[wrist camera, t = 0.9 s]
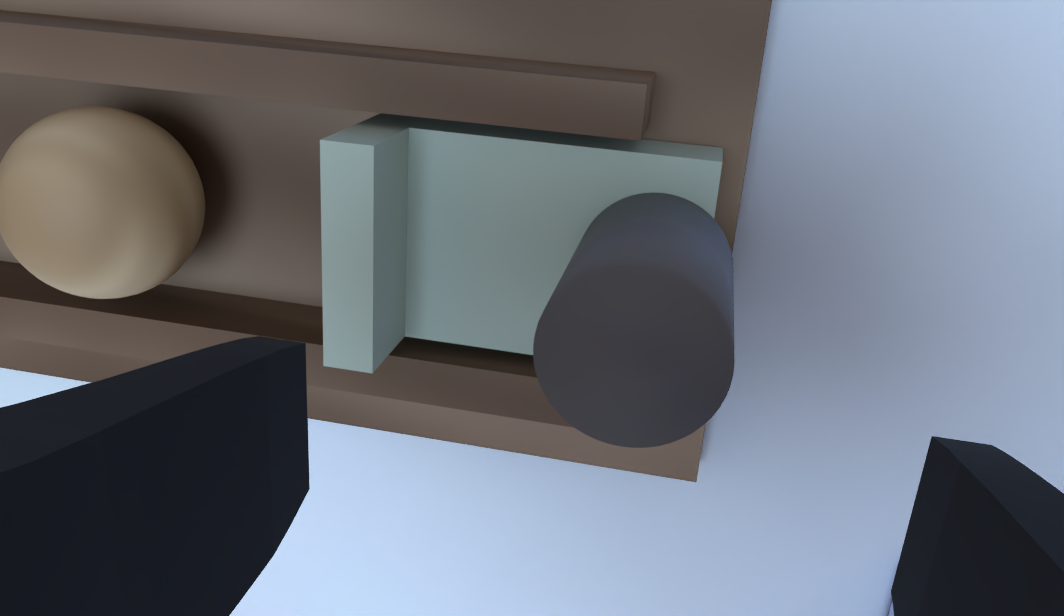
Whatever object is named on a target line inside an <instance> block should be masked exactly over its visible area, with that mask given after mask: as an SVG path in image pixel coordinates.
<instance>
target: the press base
mask: <svg viewBox="0 0 1064 616" xmlns="http://www.w3.org/2000/svg"><path fill="white" fill-rule="evenodd" d="M771 3H772V0H0V163H1V161H2V159H3V157H4V155H5V154H6V152H7V150H8V149H9V148H10V146H11V145H12V143H13V142H14V141H15V140H16V139H17V138H18V137H19V136H20V135H21V134H22V133H23V132H24V131H25V130H26V129H27V128H29V127H30V126H32V125H33V124H34V123H36V122H38V121H39V120H41V119H43V118H45V117H47V116H49V115H51V114H54V113H57V112H60V111H63V110H66V109H70V108H77V107H86V106H104V107H113V108H118V109H123V110H126V111H129V112H132V113H135V114H138V115H140V116H143V117H145V118H147V119H149V120H151V121H152V122H154V123H155V124H157V125H159V126H160V127H162V128H163V129H165V130H166V131H167V132H168V133H170V134H171V135H172V136H173V137H174V138H175V139H176V140H177V141H178V142H179V143H180V144H181V145H182V147H183V148H184V149H185V150H186V152H187V153H188V155H189V156H190V158H191V159H192V161H193V163H194V165H195V167H196V169H197V171H198V174H199V176H200V179H201V182H202V186H203V190H204V197H205V217H204V224H203V228H202V232H201V236H200V238H199V240H198V243H197V245H196V247H195V249H194V251H193V252H192V254H191V255H190V257H189V258H188V260H187V261H186V262H185V263H184V264H183V265H182V266H181V268H180V269H179V270H178V271H177V272H176V273H175V274H173V275H172V276H171V277H170V278H168V279H167V280H166V281H164V282H163V283H161V284H159V285H157V286H156V287H154V288H152V289H149V290H147V291H144V292H142V293H139V294H136V295H132V296H127V297H122V298H113V299H95V298H86V297H81V296H76V295H72V294H69V293H66V292H63V291H61V290H58V289H56V288H54V287H52V286H50V285H48V284H46V283H44V282H43V281H41V280H40V279H38V278H37V277H35V276H34V275H33V274H32V273H30V272H29V271H28V270H27V269H26V268H25V267H24V266H23V265H22V264H21V263H20V262H19V261H18V260H17V259H16V258H15V257H14V255H13V254H12V253H11V251H10V250H9V248H8V247H7V245H6V243H5V241H4V240H3V238H2V235H1V233H0V367H1V368H7V369H13V370H19V371H25V372H31V373H37V374H43V375H49V376H56V377H62V378H68V379H74V380H80V381H86V382H96V381H100V380H103V379H106V378H110V377H113V376H116V375H119V374H122V373H126V372H129V371H132V370H135V369H138V368H142V367H145V366H148V365H151V364H154V363H158V362H161V361H164V360H167V359H170V358H174V357H177V356H180V355H183V354H187V353H190V352H193V351H197V350H200V349H203V348H207V347H210V346H214V345H218V344H221V343H225V342H229V341H233V340H238V339H242V338H249V337H255V336H262V337H269V338H275V339H282V340H289V341H295V342H302V343H306V380H307V418H310V419H316V420H322V421H328V422H334V423H340V424H347V425H353V426H359V427H365V428H371V429H377V430H383V431H389V432H395V433H401V434H407V435H413V436H419V437H425V438H431V439H437V440H444V441H450V442H456V443H462V444H468V445H474V446H480V447H486V448H492V449H498V450H504V451H510V452H516V453H522V454H528V455H534V456H540V457H547V458H553V459H559V460H565V461H571V462H577V463H583V464H589V465H595V466H601V467H607V468H613V469H619V470H625V471H631V472H637V473H644V474H650V475H656V476H662V477H668V478H674V479H680V480H686V481H692V482H696V480H697V474H698V468H699V461H700V455H701V449H702V442H703V436H704V429H705V424H704V425H703V426H702V427H700V428H699V429H698V430H696V431H695V432H693V433H692V434H690V435H688V436H686V437H684V438H682V439H680V440H677V441H675V442H672V443H669V444H665V445H661V446H656V447H648V448H630V447H620V446H616V445H611V444H607V443H604V442H602V441H599V440H596V439H594V438H592V437H590V436H588V435H585V434H584V433H582V432H581V431H579V430H577V429H576V428H574V427H573V426H572V425H571V424H569V423H568V422H567V421H566V420H564V419H563V418H562V417H561V416H560V414H559V413H558V412H557V411H556V410H555V409H554V408H553V406H552V405H551V404H550V402H549V401H548V399H547V398H546V396H545V394H544V392H543V391H542V388H541V386H540V384H539V381H538V378H537V375H536V371H535V367H534V359H533V355H528V354H521V353H514V352H508V351H501V350H494V349H487V348H481V347H474V346H467V345H460V344H453V343H447V342H440V341H433V340H426V339H419V338H413V337H406V336H405V337H404V338H403V339H402V340H401V341H400V342H399V344H398V345H397V346H396V347H395V348H394V349H393V350H392V352H391V353H390V354H389V355H388V356H387V357H386V359H385V360H384V361H383V362H382V363H381V364H380V365H379V367H378V368H377V369H376V370H375V371H374V372H373V374H372V373H366V372H360V371H353V370H347V369H340V368H334V367H327V366H323V304H322V242H321V179H320V140H321V139H323V138H325V137H328V136H330V135H332V134H334V133H337V132H339V131H341V130H344V129H346V128H348V127H351V126H353V125H355V124H357V123H360V122H362V121H364V120H367V119H369V118H371V117H373V116H376V115H378V114H380V113H385V114H394V115H403V116H413V117H422V118H431V119H441V120H450V121H460V122H469V123H478V124H488V125H497V126H506V127H516V128H525V129H534V130H544V131H553V132H562V133H572V134H581V135H590V136H600V137H609V138H619V139H628V140H637V141H641V139H646V140H655V141H665V142H674V143H683V144H693V145H702V146H712V147H721V148H723V162H722V169H721V176H720V183H719V189H718V196H717V203H716V210H715V216H714V220H715V221H716V222H717V223H718V225H719V226H720V227H721V229H722V230H723V232H724V234H725V236H726V238H727V240H728V243H729V246H730V249H731V253H732V251H733V245H734V238H735V232H736V226H737V219H738V213H739V207H740V200H741V194H742V187H743V181H744V175H745V168H746V162H747V156H748V149H749V143H750V136H751V130H752V124H753V117H754V111H755V105H756V98H757V92H758V85H759V79H760V73H761V66H762V60H763V54H764V47H765V41H766V35H767V28H768V22H769V15H770V9H771Z"/></svg>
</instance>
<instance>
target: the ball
mask: <svg viewBox="0 0 1064 616" xmlns="http://www.w3.org/2000/svg"><path fill="white" fill-rule="evenodd" d="M204 217H205V197H204V190H203V186H202V182H201V179H200V176H199V174H198V171H197V169H196V167H195V165H194V163H193V161H192V159H191V158H190V156H189V155H188V153H187V152H186V150H185V149H184V148H183V147H182V145H181V144H180V143H179V142H178V141H177V140H176V139H175V138H174V137H173V136H172V135H171V134H170V133H168V132H167V131H166V130H165V129H163V128H162V127H160V126H159V125H157V124H155V123H154V122H152V121H151V120H149V119H147V118H145V117H143V116H140V115H138V114H135V113H132V112H129V111H126V110H123V109H118V108H113V107H104V106H86V107H77V108H70V109H66V110H63V111H60V112H57V113H54V114H51V115H49V116H47V117H45V118H43V119H41V120H39V121H38V122H36V123H34V124H33V125H32V126H30V127H29V128H27V129H26V130H25V131H24V132H23V133H22V134H21V135H20V136H19V137H18V138H17V139H16V140H15V141H14V142H13V143H12V145H11V146H10V148H9V149H8V150H7V152H6V154H5V155H4V157H3V159H2V161H1V163H0V233H1V235H2V238H3V240H4V241H5V243H6V245H7V247H8V248H9V250H10V251H11V253H12V254H13V255H14V257H15V258H16V259H17V260H18V261H19V262H20V263H21V264H22V265H23V266H24V267H25V268H26V269H27V270H28V271H29V272H30V273H32V274H33V275H34V276H35V277H37V278H38V279H40V280H41V281H43V282H44V283H46V284H48V285H50V286H52V287H54V288H56V289H58V290H61V291H63V292H66V293H69V294H72V295H76V296H81V297H86V298H95V299H113V298H122V297H127V296H132V295H136V294H139V293H142V292H144V291H147V290H149V289H152V288H154V287H156V286H157V285H159V284H161V283H163V282H164V281H166V280H167V279H168V278H170V277H171V276H172V275H173V274H175V273H176V272H177V271H178V270H179V269H180V268H181V266H182V265H183V264H184V263H185V262H186V261H187V260H188V258H189V257H190V255H191V254H192V252H193V251H194V249H195V247H196V245H197V243H198V240H199V238H200V236H201V232H202V228H203V224H204Z"/></svg>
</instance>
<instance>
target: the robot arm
mask: <svg viewBox="0 0 1064 616" xmlns="http://www.w3.org/2000/svg"><path fill="white" fill-rule="evenodd" d="M308 490H309V458H308V419H307V380H306V343H302V342H295V341H289V340H282V339H275V338H269V337H262V336H255V337H249V338H242V339H238V340H233V341H229V342H225V343H221V344H218V345H214V346H210V347H207V348H203V349H200V350H197V351H193V352H190V353H187V354H183V355H180V356H177V357H174V358H170V359H167V360H164V361H161V362H158V363H154V364H151V365H148V366H145V367H142V368H138V369H135V370H132V371H129V372H126V373H122V374H119V375H116V376H113V377H110V378H106V379H103V380H100V381H96V382H92V383H89V384H85V385H82V386H78V387H75V388H71V389H68V390H64V391H60V392H57V393H53V394H50V395H46V396H43V397H39V398H36V399H32V400H28V401H25V402H21V403H18V404H14V405H10V406H6V407H2V408H0V616H229V615H230V614H231V612H232V611H233V610H234V609H235V607H236V606H237V605H238V603H239V602H240V600H241V599H242V598H243V596H244V595H245V594H246V592H247V591H248V590H249V588H250V587H251V586H252V584H253V583H254V581H255V580H256V579H257V577H258V576H259V575H260V573H261V572H262V571H263V569H264V568H265V566H266V565H267V564H268V562H269V561H270V559H271V558H272V557H273V555H274V554H275V552H276V550H277V548H278V547H279V545H280V543H281V541H282V539H283V538H284V536H285V534H286V532H287V531H288V529H289V527H290V525H291V523H292V521H293V520H294V518H295V516H296V514H297V512H298V510H299V508H300V506H301V504H302V502H303V500H304V498H305V496H306V494H307V492H308ZM891 593H892V604H891V607H890V611H889V615H888V616H1064V494H1063V493H1062V492H1061V491H1059V490H1058V489H1057V488H1055V487H1054V486H1052V485H1051V484H1050V483H1048V482H1047V481H1046V480H1044V479H1043V478H1042V477H1040V476H1039V475H1037V474H1036V473H1035V472H1033V471H1032V470H1030V469H1029V468H1028V467H1026V466H1025V465H1023V464H1022V463H1020V462H1019V461H1017V460H1016V459H1014V458H1013V457H1011V456H1010V455H1008V454H1007V453H1005V452H1003V451H1001V450H1000V449H998V448H996V447H994V446H992V445H987V444H980V443H974V442H967V441H960V440H954V439H947V438H940V437H933V436H932V438H931V441H930V445H929V449H928V453H927V457H926V460H925V464H924V468H923V472H922V476H921V479H920V483H919V487H918V491H917V495H916V499H915V502H914V506H913V510H912V514H911V518H910V521H909V525H908V529H907V533H906V537H905V540H904V544H903V548H902V552H901V556H900V560H899V563H898V567H897V571H896V575H895V579H894V582H893V586H892V590H891Z"/></svg>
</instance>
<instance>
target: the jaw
mask: <svg viewBox="0 0 1064 616" xmlns="http://www.w3.org/2000/svg"><path fill="white" fill-rule="evenodd" d="M722 162H723V148H721V147H712V146H702V145H693V144H683V143H674V142H665V141H655V140H646V139H641V141H637V140H628V139H619V138H609V137H600V136H590V135H581V134H572V133H562V132H553V131H544V130H534V129H525V128H516V127H506V126H497V125H488V124H478V123H469V122H460V121H450V120H441V119H431V118H422V117H413V116H403V115H394V114H385V113H380V114H378V115H376V116H373V117H371V118H369V119H367V120H364V121H362V122H360V123H357V124H355V125H353V126H351V127H348V128H346V129H344V130H341V131H339V132H337V133H334V134H332V135H330V136H328V137H325V138H323V139H321V140H320V179H321V242H322V304H323V366H327V367H334V368H340V369H347V370H353V371H360V372H366V373H372V374H373V372H374V371H375V370H376V369H377V368H378V367H379V365H380V364H381V363H382V362H383V361H384V360H385V359H386V357H387V356H388V355H389V354H390V353H391V352H392V350H393V349H394V348H395V347H396V346H397V345H398V344H399V342H400V341H401V340H402V339H403V338H404V337H405V336H406V337H413V338H419V339H426V340H433V341H440V342H447V343H453V344H460V345H467V346H474V347H481V348H487V349H494V350H501V351H508V352H514V353H521V354H528V355H533V359H534V367H535V371H536V375H537V378H538V381H539V384H540V386H541V388H542V391H543V392H544V394H545V396H546V398H547V399H548V401H549V402H550V404H551V405H552V406H553V408H554V409H555V410H556V411H557V412H558V413H559V414H560V416H561V417H562V418H563V419H564V420H566V421H567V422H568V423H569V424H571V425H572V426H573V427H574V428H576V429H577V430H579V431H581V432H582V433H584V434H585V435H588V436H590V437H592V438H594V439H596V440H599V441H602V442H604V443H607V444H611V445H616V446H620V447H630V448H648V447H656V446H661V445H665V444H669V443H672V442H675V441H677V440H680V439H682V438H684V437H686V436H688V435H690V434H692V433H693V432H695V431H696V430H698V429H699V428H700V427H702V426H703V425H704V424H705V423H706V422H707V421H708V420H709V419H710V418H711V417H712V416H713V415H714V414H715V413H716V411H717V410H718V409H719V407H720V406H721V404H722V402H723V401H724V399H725V397H726V395H727V392H728V390H729V388H730V385H731V380H732V376H733V370H734V300H733V259H732V253H731V249H730V246H729V243H728V240H727V238H726V236H725V234H724V232H723V230H722V229H721V227H720V226H719V225H718V223H717V222H716V221H715V220H714V216H715V210H716V203H717V196H718V189H719V183H720V176H721V169H722Z"/></svg>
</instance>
